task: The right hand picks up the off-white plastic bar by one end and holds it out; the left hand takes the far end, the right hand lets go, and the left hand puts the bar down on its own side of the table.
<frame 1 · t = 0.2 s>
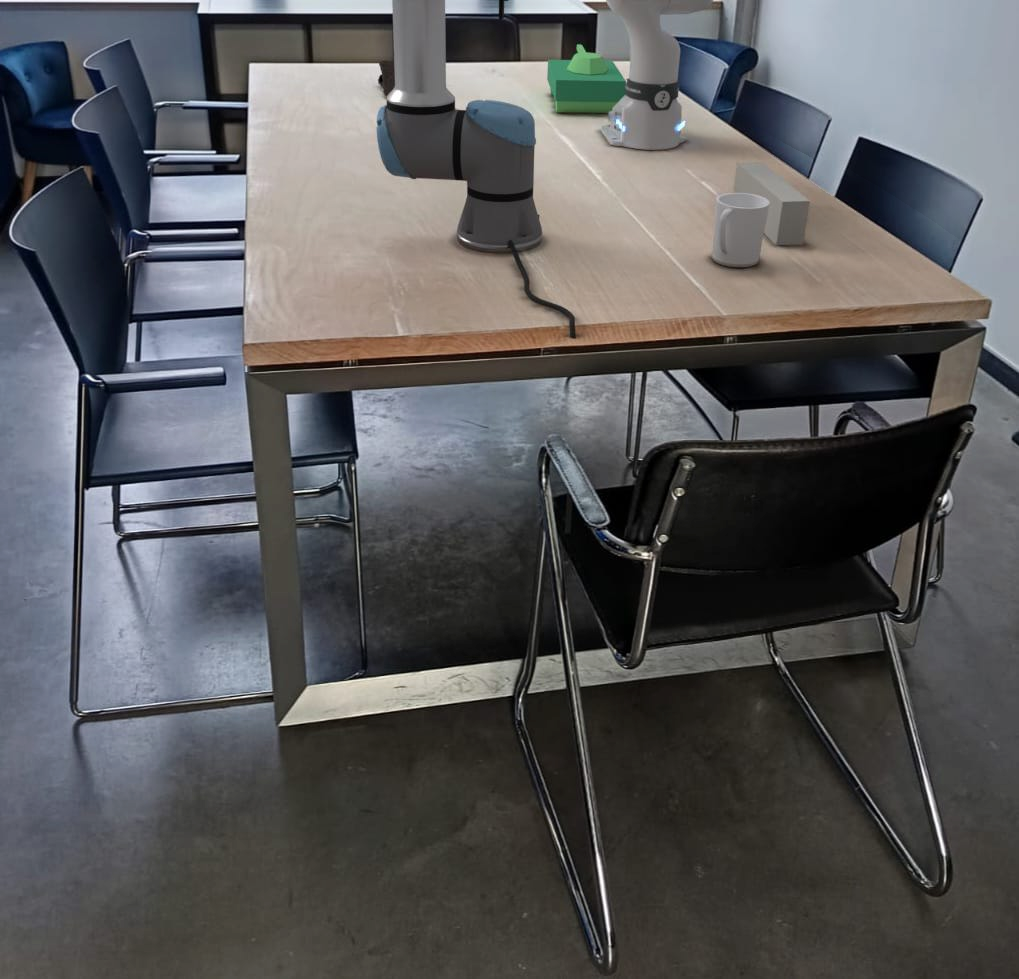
left hand: (468, 17, 223), 30 cm above the table, tool pointing down, fingers open, 13 cm apart
mug: (731, 262, 189), on the table
axe head: (403, 91, 300), on the table
toy tank: (582, 101, 294), on the table
bar: (765, 222, 208), on the table
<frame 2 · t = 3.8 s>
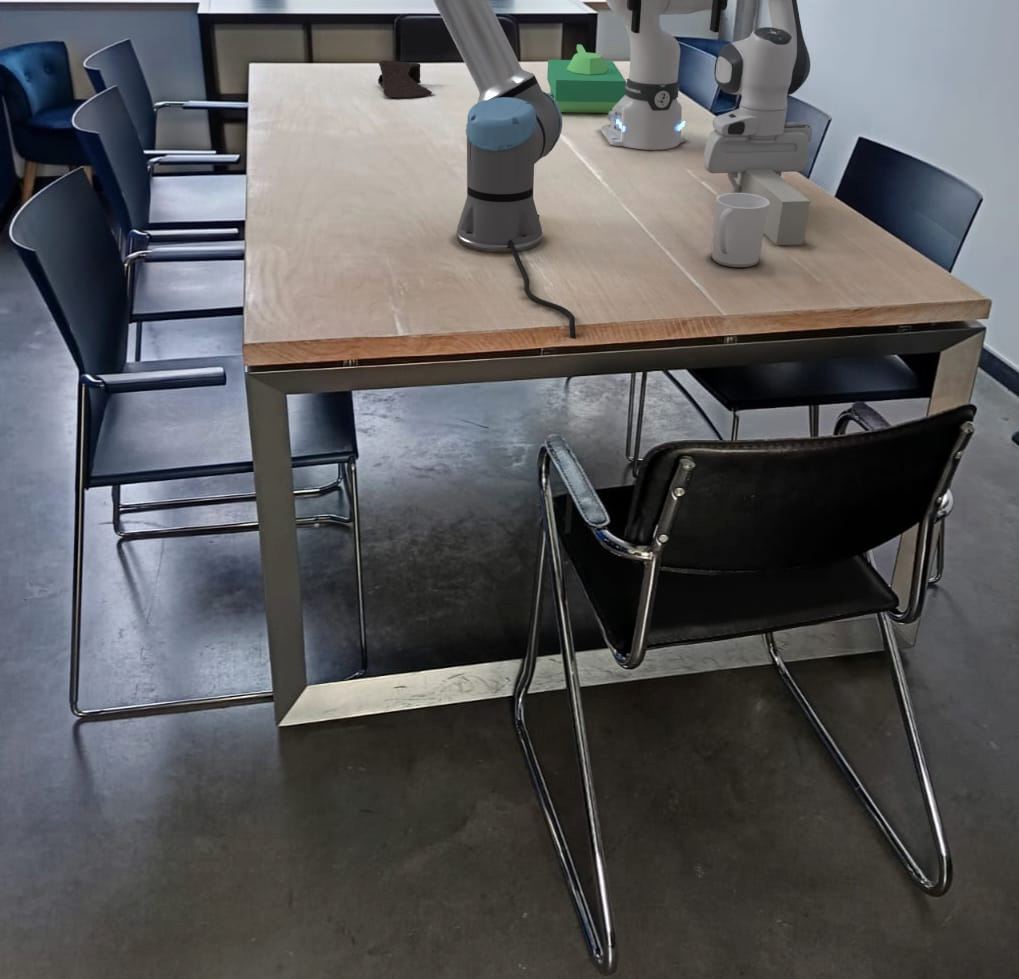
left hand: (674, 31, 182), 35 cm above the table, tool pointing down, fingers open, 13 cm apart
right hand: (751, 194, 214), 3 cm above the table, tool pointing down, fingers closed on bar, 5 cm apart
bar: (765, 222, 208), on the table, touching right hand
everything else where it was.
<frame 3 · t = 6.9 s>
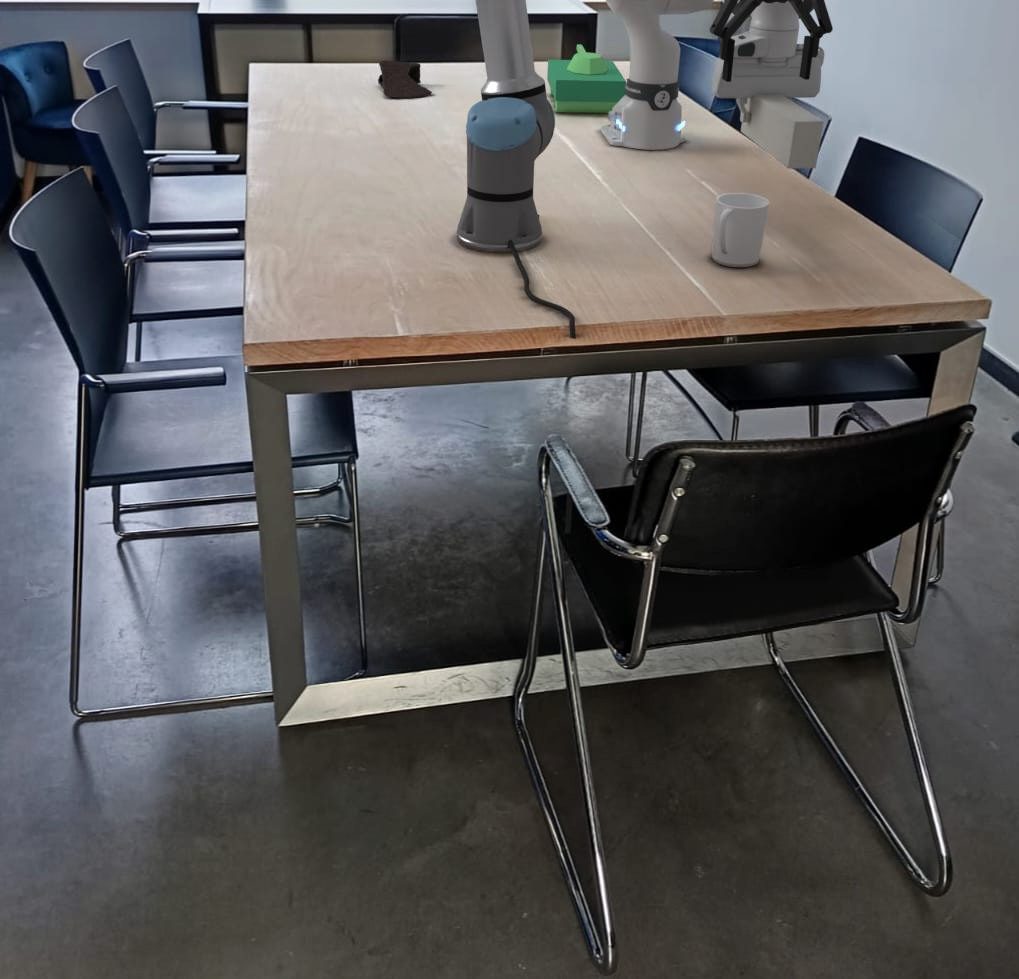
left hand: (765, 79, 185), 28 cm above the table, tool pointing down, fingers open, 13 cm apart
right hand: (761, 121, 207), 16 cm above the table, tool pointing down, fingers closed on bar, 5 cm apart
bar: (776, 148, 201), point 14 cm above the table, touching right hand
everything else where it was.
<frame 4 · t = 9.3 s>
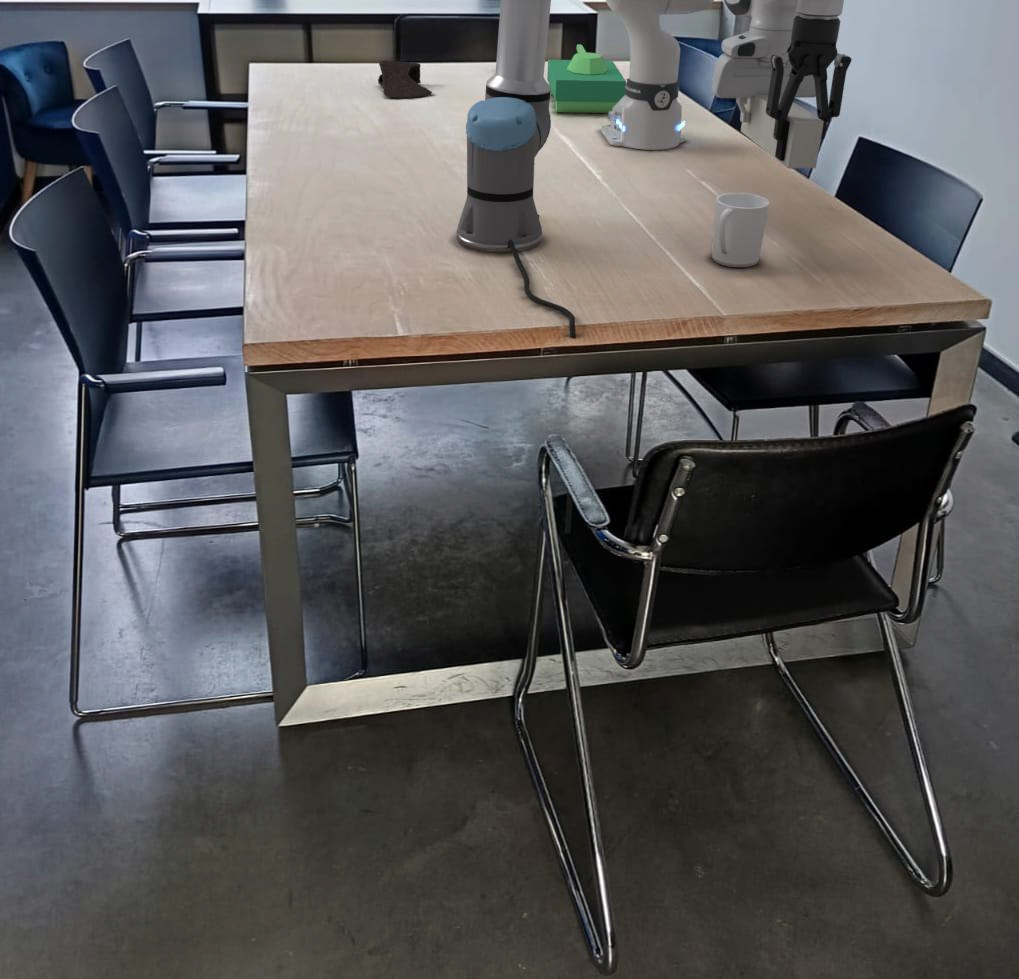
left hand: (795, 158, 192), 15 cm above the table, tool pointing down, fingers closed on bar, 5 cm apart
right hand: (761, 121, 207), 16 cm above the table, tool pointing down, fingers closed on bar, 5 cm apart
bar: (776, 148, 201), point 14 cm above the table, touching left hand, right hand
everything else where it was.
when the right hand's fingers open (16 cm above the table, at t = 10.3 s): bar stays where it is, held by the left hand.
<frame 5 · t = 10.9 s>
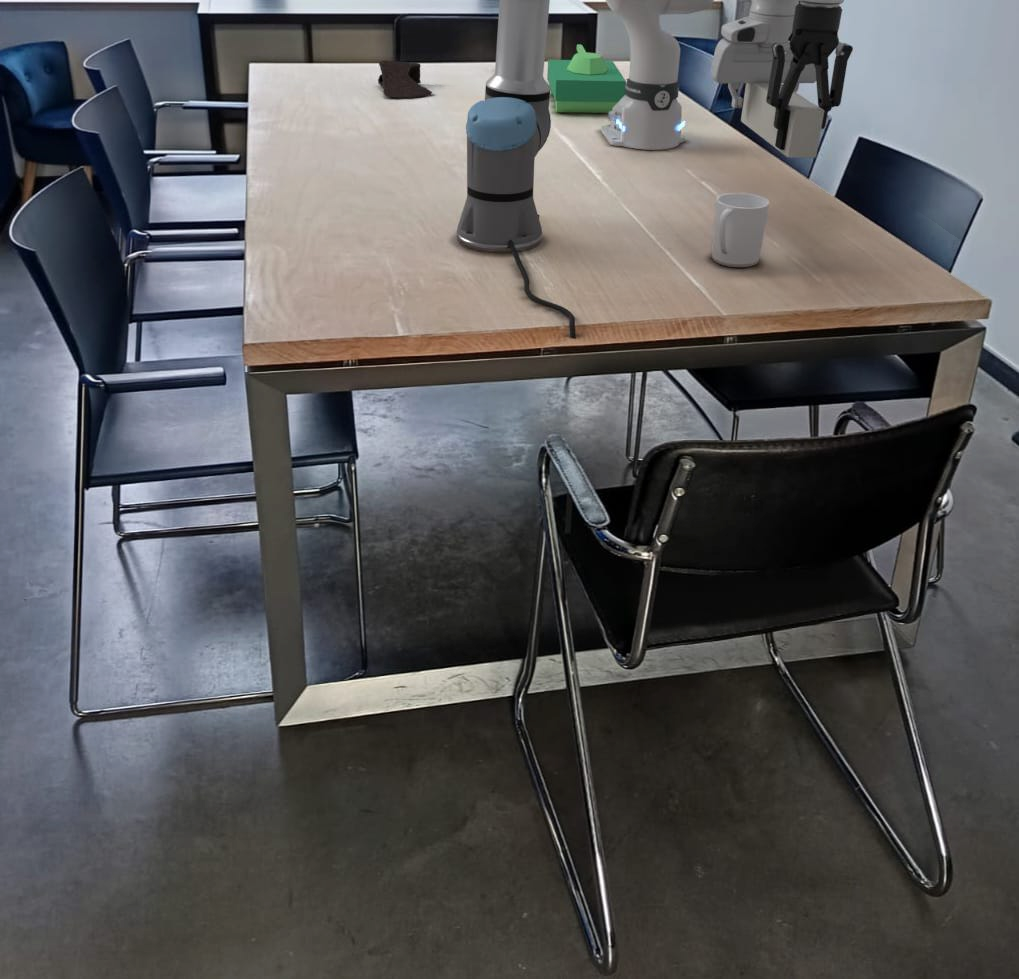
left hand: (795, 147, 191), 16 cm above the table, tool pointing down, fingers closed on bar, 5 cm apart
right hand: (760, 107, 207), 19 cm above the table, tool pointing down, fingers open, 8 cm apart
bar: (776, 138, 200), point 16 cm above the table, touching left hand
everything else where it was.
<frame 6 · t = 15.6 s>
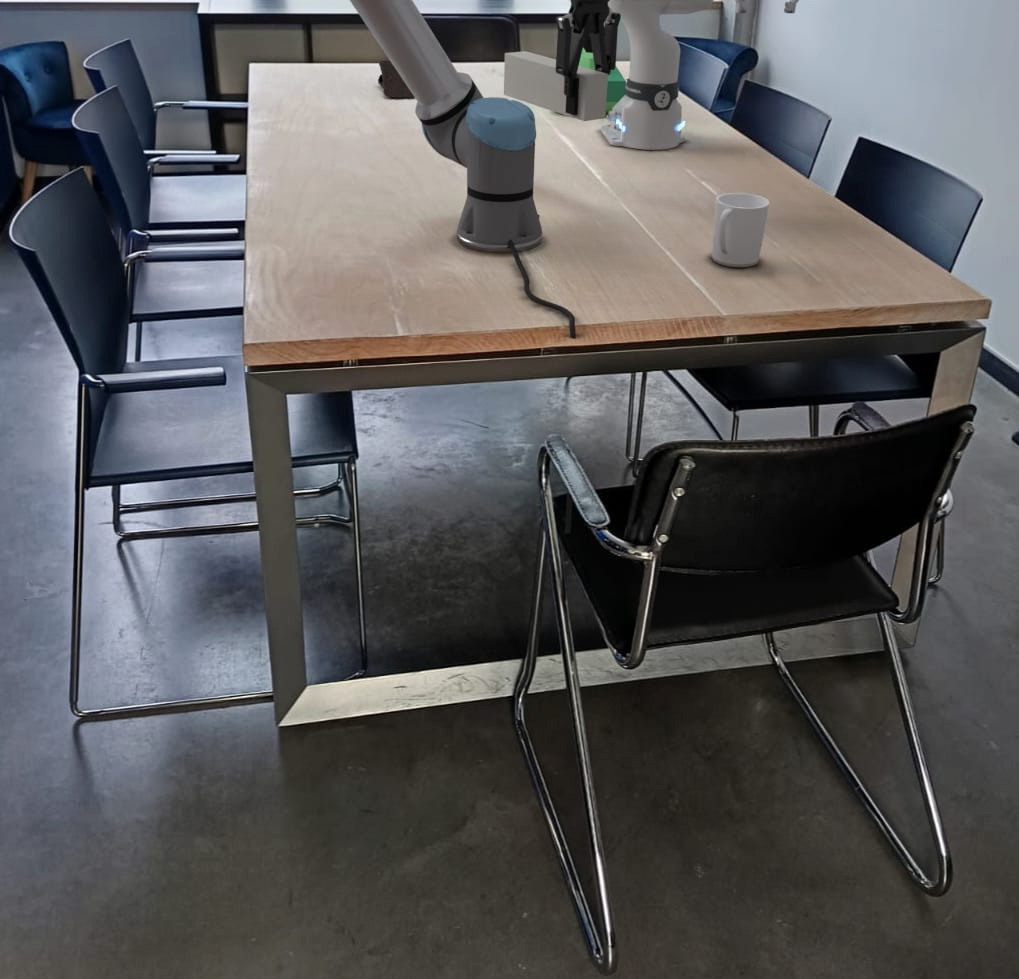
left hand: (583, 111, 207), 17 cm above the table, tool pointing down, fingers closed on bar, 5 cm apart
right hand: (764, 12, 203), 35 cm above the table, tool pointing down, fingers open, 8 cm apart
bar: (552, 106, 214), point 17 cm above the table, touching left hand
everything else where it was.
when the left hand's fingers open (3 cm above the table, at t = 22.1 s): bar drops 2 cm, on the table.
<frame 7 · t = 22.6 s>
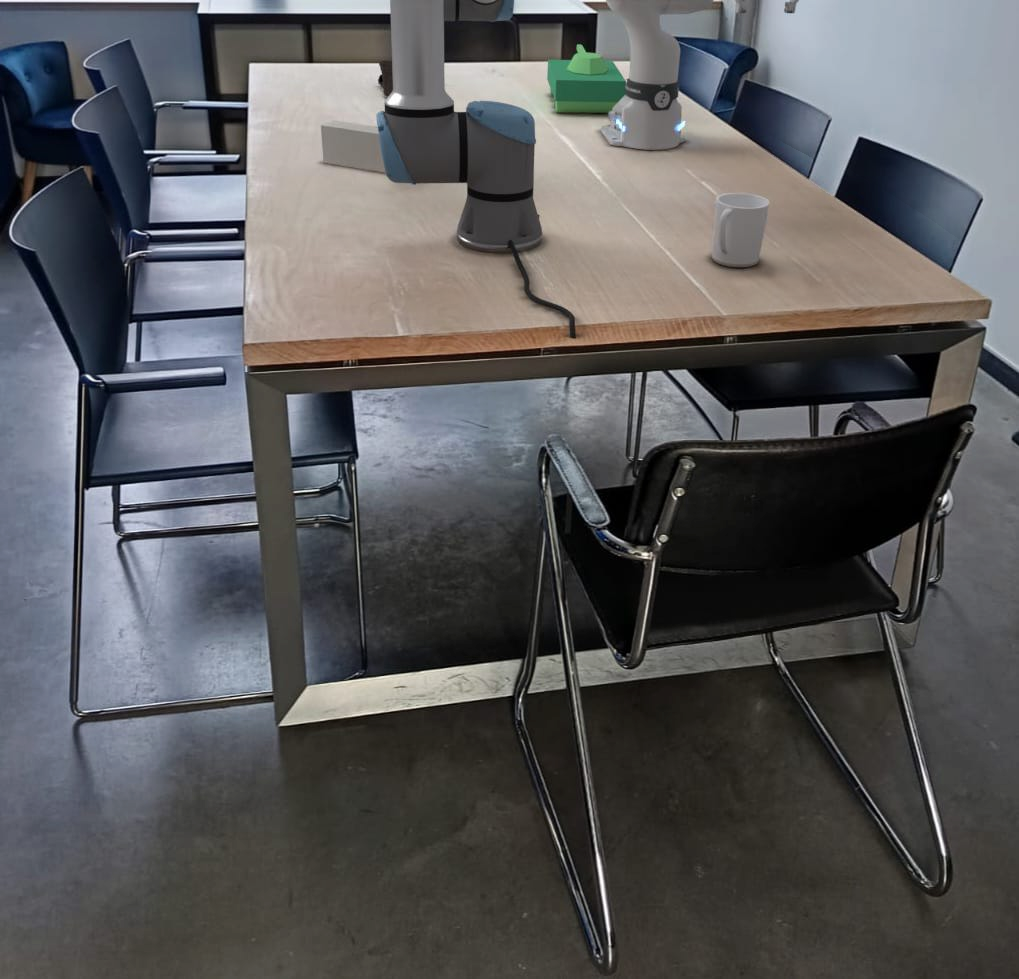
left hand: (417, 153, 229), 4 cm above the table, tool pointing down, fingers open, 12 cm apart
right hand: (764, 12, 203), 35 cm above the table, tool pointing down, fingers open, 8 cm apart
bar: (380, 168, 234), on the table
everything else where it was.
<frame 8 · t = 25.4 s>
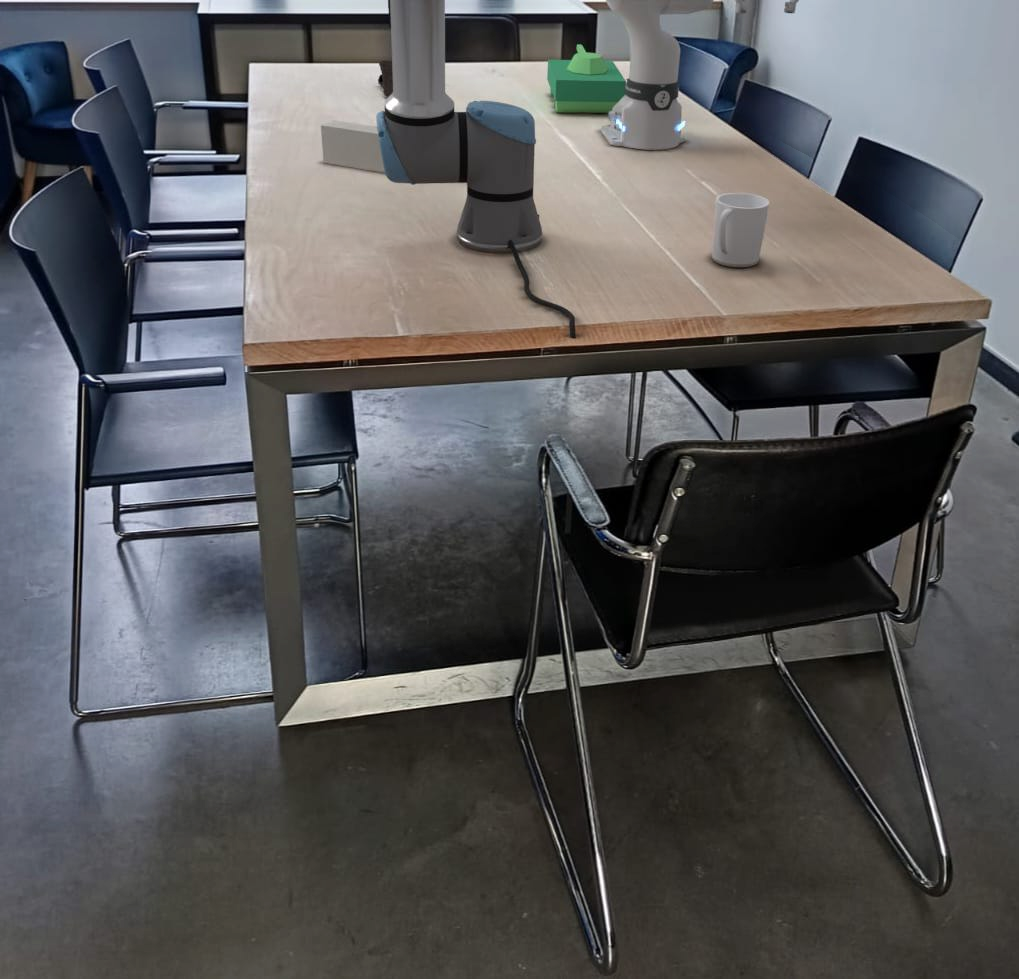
left hand: (414, 23, 216), 30 cm above the table, tool pointing down, fingers open, 13 cm apart
right hand: (764, 12, 203), 35 cm above the table, tool pointing down, fingers open, 8 cm apart
nothing on the table moved.
at the end: bar inside the target area (9.3 cm from its centre), on the table; the left hand is holding nothing; the right hand is holding nothing; bar at rest at the end (0.0 cm/s) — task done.
